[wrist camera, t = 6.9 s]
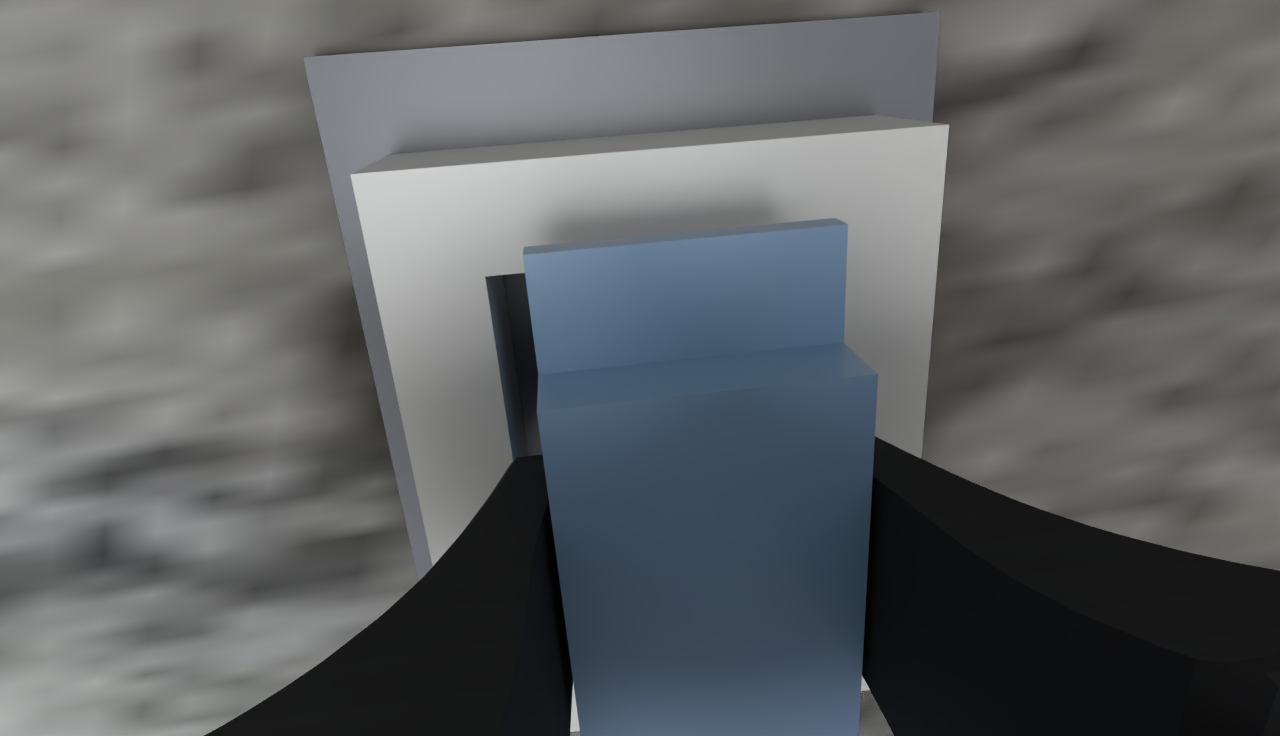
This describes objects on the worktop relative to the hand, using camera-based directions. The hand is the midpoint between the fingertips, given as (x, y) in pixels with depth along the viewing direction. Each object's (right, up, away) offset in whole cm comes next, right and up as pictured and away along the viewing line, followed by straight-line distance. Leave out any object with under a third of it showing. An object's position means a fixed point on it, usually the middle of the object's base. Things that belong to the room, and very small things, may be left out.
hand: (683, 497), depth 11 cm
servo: (0, +1, +1) cm, 1 cm away
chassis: (0, +1, +3) cm, 4 cm away
